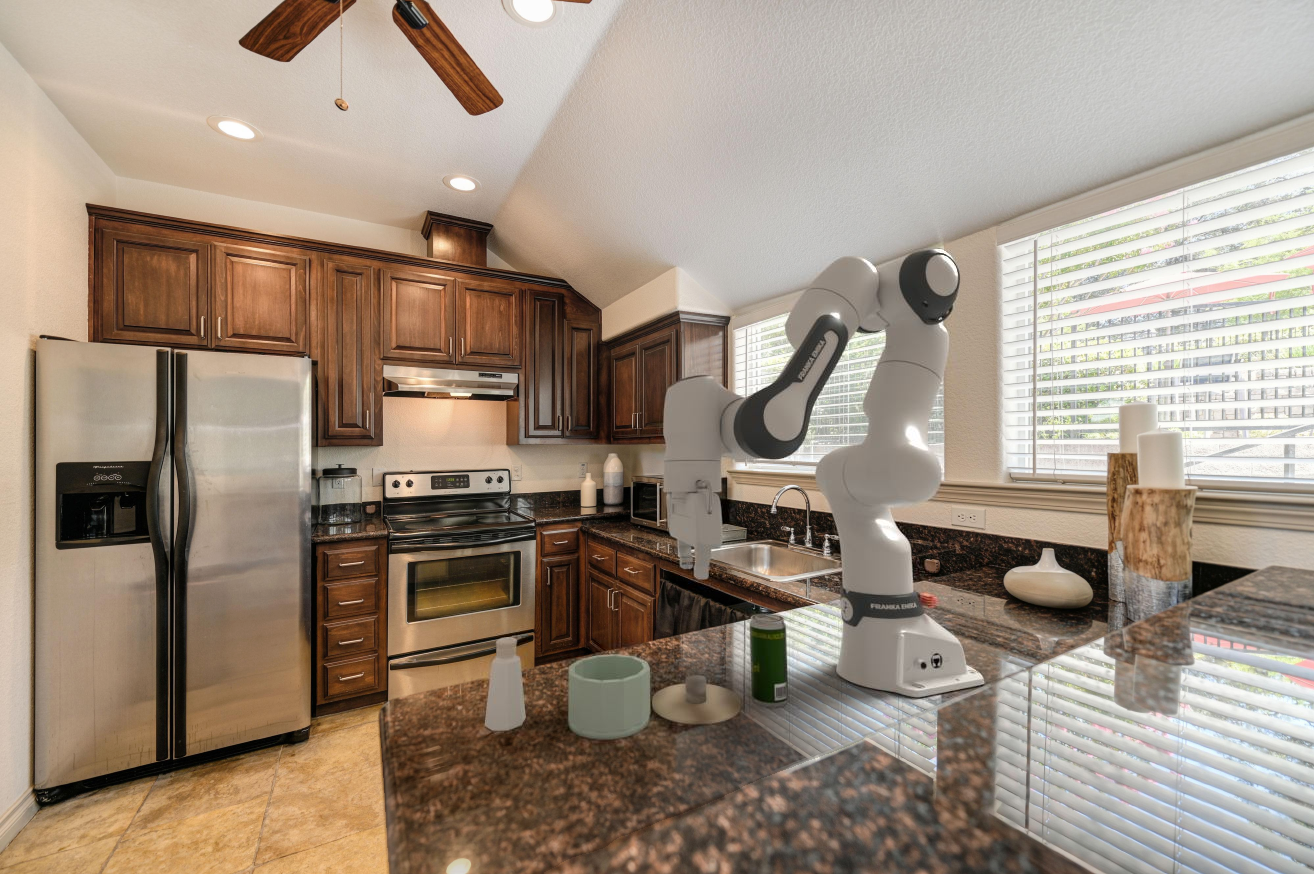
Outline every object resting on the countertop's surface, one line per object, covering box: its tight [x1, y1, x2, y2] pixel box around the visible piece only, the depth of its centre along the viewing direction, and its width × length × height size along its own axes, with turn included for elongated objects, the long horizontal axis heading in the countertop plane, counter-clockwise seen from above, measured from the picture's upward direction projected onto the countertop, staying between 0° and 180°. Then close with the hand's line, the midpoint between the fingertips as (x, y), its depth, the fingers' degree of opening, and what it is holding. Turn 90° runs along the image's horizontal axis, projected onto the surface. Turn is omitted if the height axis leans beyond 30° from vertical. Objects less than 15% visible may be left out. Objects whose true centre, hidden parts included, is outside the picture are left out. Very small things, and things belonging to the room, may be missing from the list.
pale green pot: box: [567, 653, 651, 741], centre depth 72 cm, size 11×11×7 cm
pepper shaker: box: [484, 636, 527, 732], centre depth 72 cm, size 5×5×11 cm
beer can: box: [749, 613, 789, 708], centre depth 78 cm, size 5×5×12 cm
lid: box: [651, 674, 742, 725], centre depth 77 cm, size 13×13×4 cm
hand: (693, 573), depth 78 cm, fingers open, 8 cm apart
